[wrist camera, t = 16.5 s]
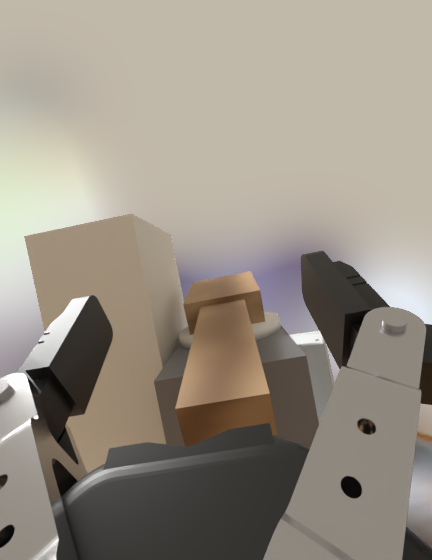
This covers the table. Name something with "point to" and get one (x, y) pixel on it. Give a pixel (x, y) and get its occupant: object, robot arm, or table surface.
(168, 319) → the tall plinth
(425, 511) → the table surface
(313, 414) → the gray box
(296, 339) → the skincare box
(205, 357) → the oak block
